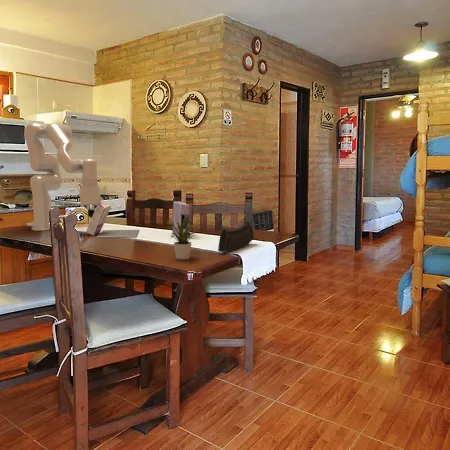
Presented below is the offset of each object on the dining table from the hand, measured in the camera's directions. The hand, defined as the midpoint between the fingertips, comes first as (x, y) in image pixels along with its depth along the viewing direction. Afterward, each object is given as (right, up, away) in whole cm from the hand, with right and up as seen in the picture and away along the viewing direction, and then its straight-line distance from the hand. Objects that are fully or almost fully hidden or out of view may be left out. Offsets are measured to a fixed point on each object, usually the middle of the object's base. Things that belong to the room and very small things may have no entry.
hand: (91, 217), depth 237 cm
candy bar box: (0, -8, +1) cm, 9 cm away
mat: (+14, -9, +3) cm, 17 cm away
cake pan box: (+48, -10, -1) cm, 49 cm away
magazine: (+77, -15, -36) cm, 86 cm away
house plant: (+53, -18, -58) cm, 81 cm away
